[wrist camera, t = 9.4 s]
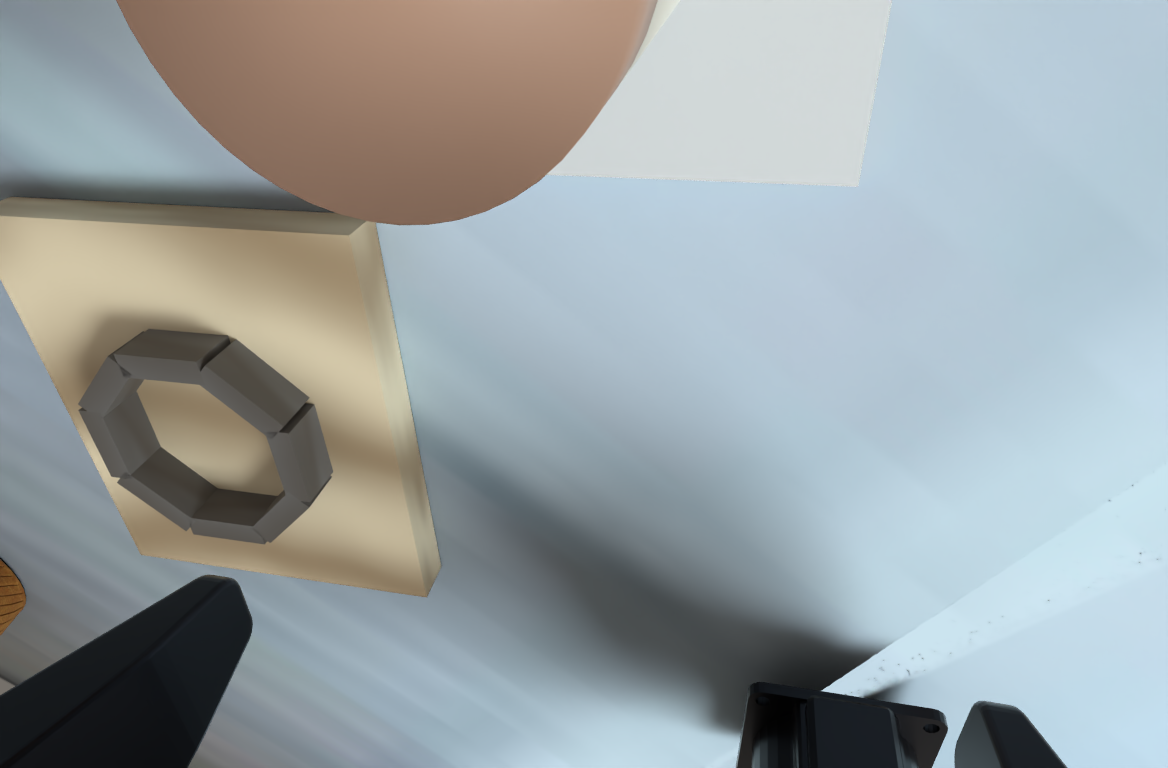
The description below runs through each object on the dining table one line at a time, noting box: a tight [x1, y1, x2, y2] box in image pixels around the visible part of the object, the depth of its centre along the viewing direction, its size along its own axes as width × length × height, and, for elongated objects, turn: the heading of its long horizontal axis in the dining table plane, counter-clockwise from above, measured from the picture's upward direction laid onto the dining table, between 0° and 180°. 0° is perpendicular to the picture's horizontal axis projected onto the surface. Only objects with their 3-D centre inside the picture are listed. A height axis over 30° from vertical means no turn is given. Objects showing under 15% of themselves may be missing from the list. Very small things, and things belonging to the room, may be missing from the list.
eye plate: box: [0, 197, 441, 597], centre depth 24 cm, size 14×12×3 cm
